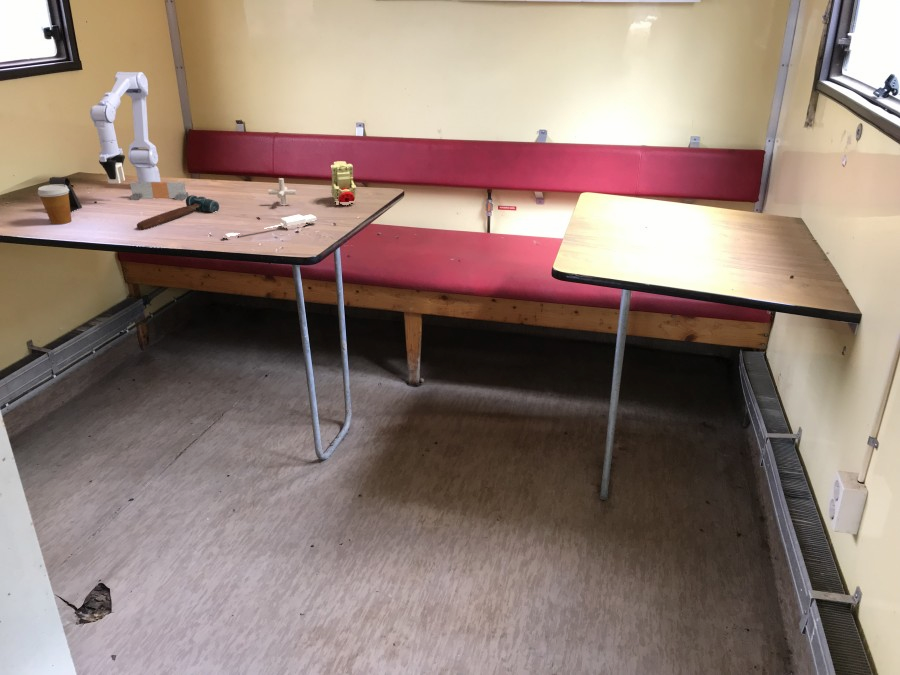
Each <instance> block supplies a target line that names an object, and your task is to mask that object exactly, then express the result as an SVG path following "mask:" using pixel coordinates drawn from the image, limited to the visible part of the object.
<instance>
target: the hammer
mask: <svg viewBox="0 0 900 675" xmlns="http://www.w3.org/2000/svg"><path fill="white" fill-rule="evenodd" d="M219 209H220V203H219V202H218V201H216V200H214V199H212V198H211V199H210V198H207V197H205V196H197V195H195V194H191V195H188V197H187V198H185V206H181V207H179V208H175V209H172V210H169V211H165V212H163V213H160V214H157V215H154V216H151V217H149V218H146V219H143V220H141V221H140V222H139V221H138V222H137V223H136V229H138V230H140V229H141V231H144V229H145V230H149V229H152V228H154V226H155V227H157V225H158V226H159V225H162V223H163V224H166V223H168V222H170V221H173V220H175V219H178V218H179V217H182V216H184V215H186V214H189V213H190V212H192V211H194V210H195V211H196V210H197V212H205V213H210V212H215V211H217V212H218V211H219ZM215 213H216V212H215ZM151 227H152V228H151ZM148 228H149V229H148Z"/></svg>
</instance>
